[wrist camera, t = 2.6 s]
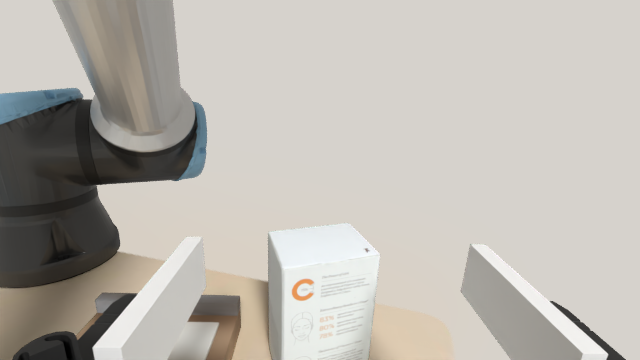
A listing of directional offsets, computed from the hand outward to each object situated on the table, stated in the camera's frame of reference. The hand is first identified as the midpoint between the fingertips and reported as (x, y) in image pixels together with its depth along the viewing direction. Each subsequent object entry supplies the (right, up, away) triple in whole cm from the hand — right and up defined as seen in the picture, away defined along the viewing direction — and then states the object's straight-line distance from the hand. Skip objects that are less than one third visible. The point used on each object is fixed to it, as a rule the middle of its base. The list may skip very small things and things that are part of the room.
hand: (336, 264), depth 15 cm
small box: (-1, -14, +15) cm, 20 cm away
